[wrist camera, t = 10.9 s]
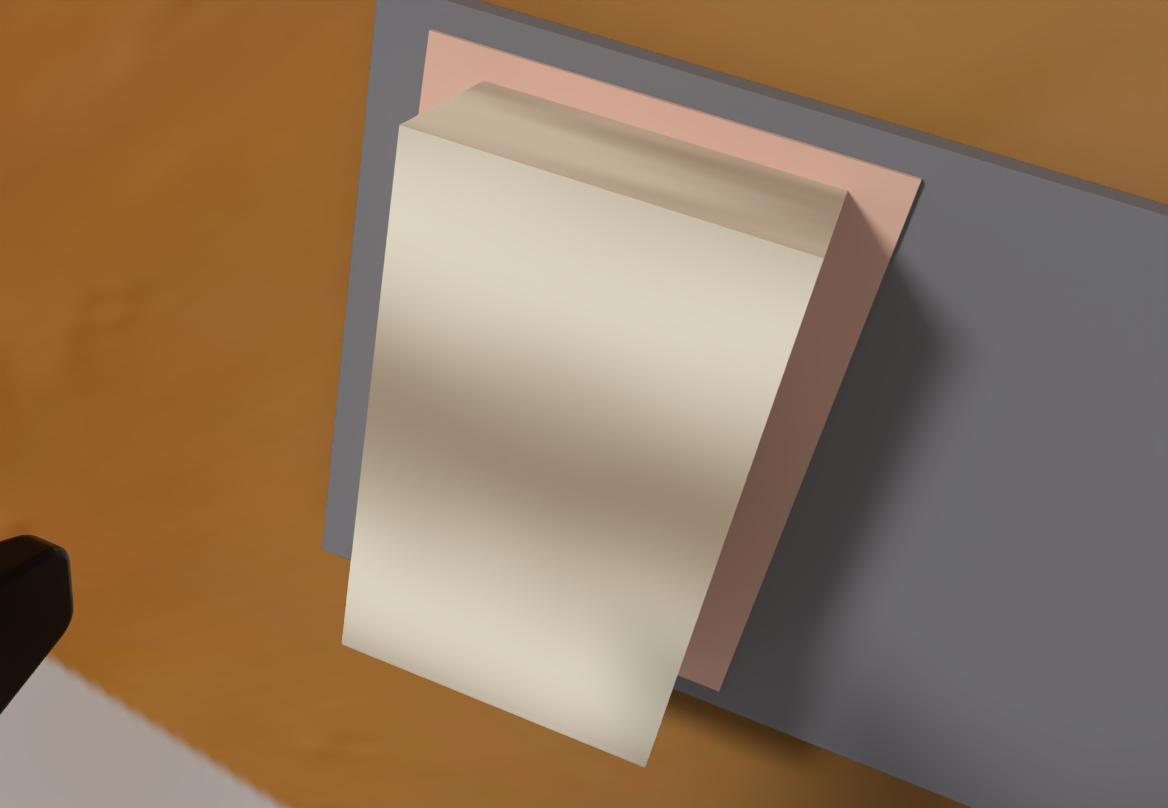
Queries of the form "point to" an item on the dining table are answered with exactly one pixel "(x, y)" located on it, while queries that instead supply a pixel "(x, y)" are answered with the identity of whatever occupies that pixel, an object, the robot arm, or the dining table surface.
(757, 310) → the block
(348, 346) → the mat
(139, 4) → the dining table surface
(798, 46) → the dining table surface
